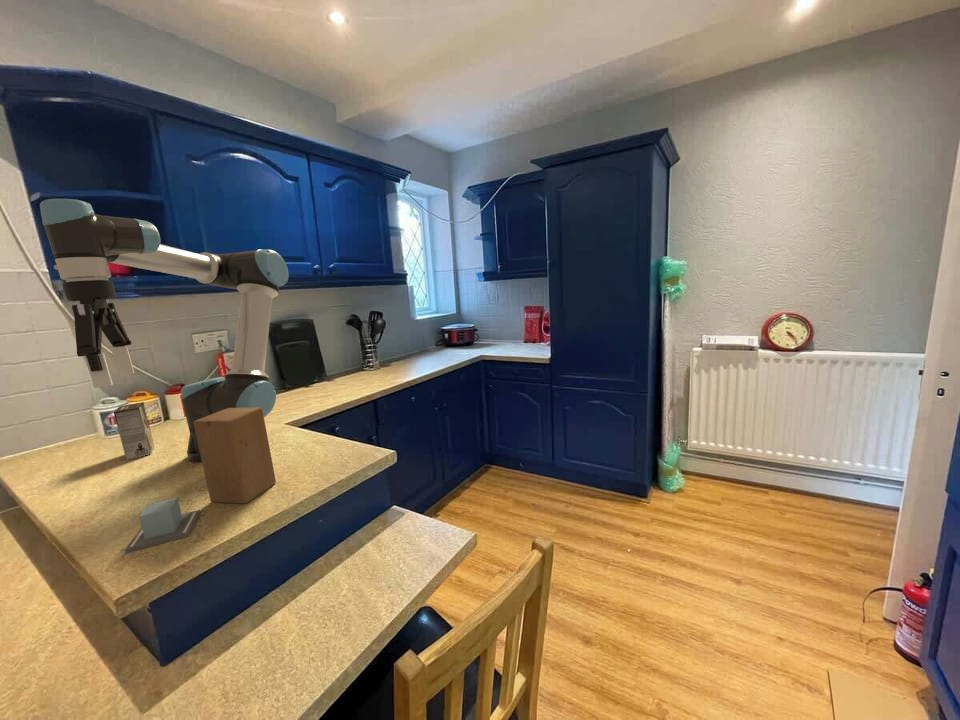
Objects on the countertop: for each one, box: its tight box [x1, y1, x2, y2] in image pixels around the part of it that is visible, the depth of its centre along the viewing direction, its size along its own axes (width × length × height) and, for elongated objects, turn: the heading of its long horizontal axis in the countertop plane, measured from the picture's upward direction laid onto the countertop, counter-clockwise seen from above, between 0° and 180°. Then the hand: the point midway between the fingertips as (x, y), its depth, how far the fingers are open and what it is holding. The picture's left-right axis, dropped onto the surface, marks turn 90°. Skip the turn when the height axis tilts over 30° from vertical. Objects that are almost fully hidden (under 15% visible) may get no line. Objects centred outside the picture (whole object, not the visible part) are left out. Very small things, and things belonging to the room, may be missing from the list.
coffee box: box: [113, 401, 155, 461], centre depth 127 cm, size 9×6×16 cm
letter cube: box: [138, 497, 183, 539], centre depth 80 cm, size 5×5×5 cm
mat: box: [124, 509, 202, 554], centre depth 81 cm, size 10×10×1 cm
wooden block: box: [193, 407, 277, 504], centre depth 93 cm, size 10×10×20 cm
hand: (116, 380), depth 85 cm, fingers open, 13 cm apart
